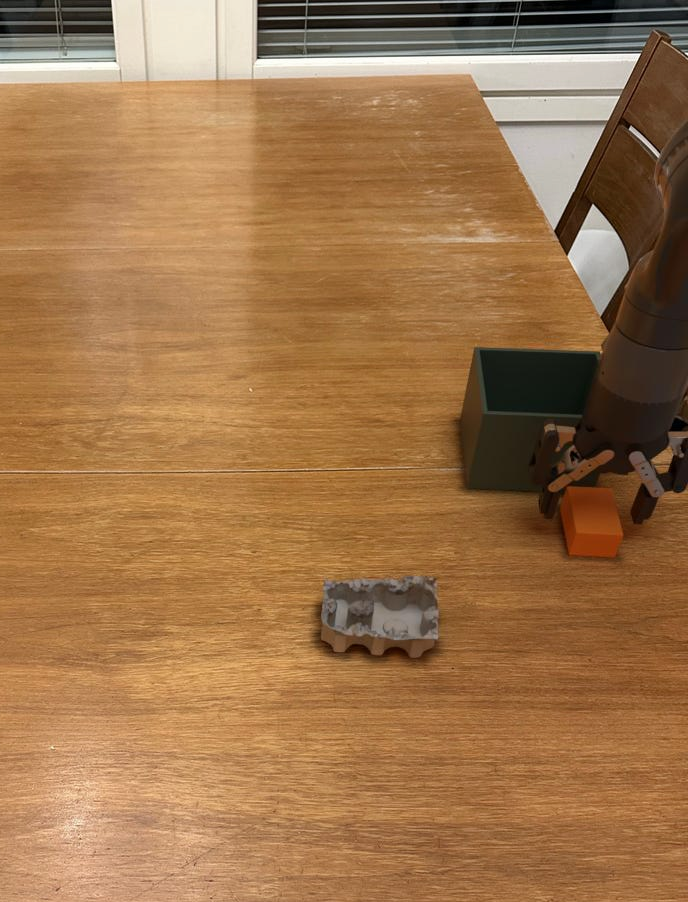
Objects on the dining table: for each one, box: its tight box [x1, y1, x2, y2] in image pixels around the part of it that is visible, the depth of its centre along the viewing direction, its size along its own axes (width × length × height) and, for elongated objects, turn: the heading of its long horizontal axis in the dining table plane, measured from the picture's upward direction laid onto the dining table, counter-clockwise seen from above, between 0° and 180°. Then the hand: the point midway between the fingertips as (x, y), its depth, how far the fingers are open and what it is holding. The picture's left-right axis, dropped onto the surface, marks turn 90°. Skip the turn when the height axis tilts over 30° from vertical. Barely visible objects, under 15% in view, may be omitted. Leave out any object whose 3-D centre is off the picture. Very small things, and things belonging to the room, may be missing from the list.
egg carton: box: [320, 575, 440, 659], centre depth 89 cm, size 11×8×4 cm
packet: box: [559, 486, 624, 559], centre depth 97 cm, size 4×7×3 cm, turn 174°
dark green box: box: [459, 346, 601, 494], centre depth 103 cm, size 13×12×10 cm
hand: (591, 516), depth 97 cm, fingers open, 8 cm apart
